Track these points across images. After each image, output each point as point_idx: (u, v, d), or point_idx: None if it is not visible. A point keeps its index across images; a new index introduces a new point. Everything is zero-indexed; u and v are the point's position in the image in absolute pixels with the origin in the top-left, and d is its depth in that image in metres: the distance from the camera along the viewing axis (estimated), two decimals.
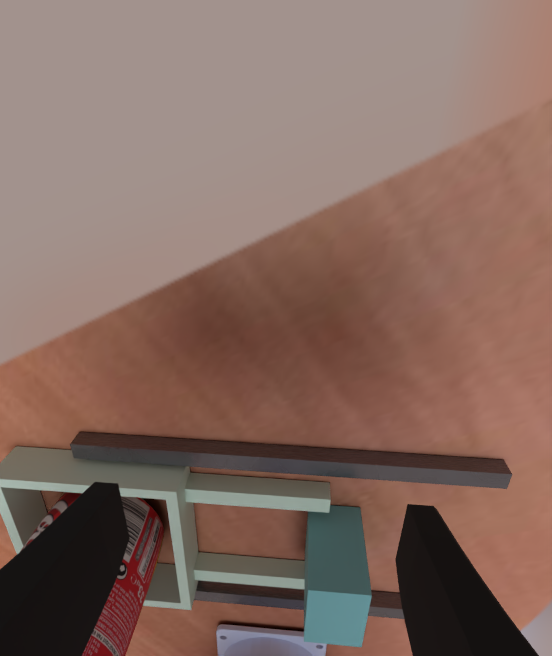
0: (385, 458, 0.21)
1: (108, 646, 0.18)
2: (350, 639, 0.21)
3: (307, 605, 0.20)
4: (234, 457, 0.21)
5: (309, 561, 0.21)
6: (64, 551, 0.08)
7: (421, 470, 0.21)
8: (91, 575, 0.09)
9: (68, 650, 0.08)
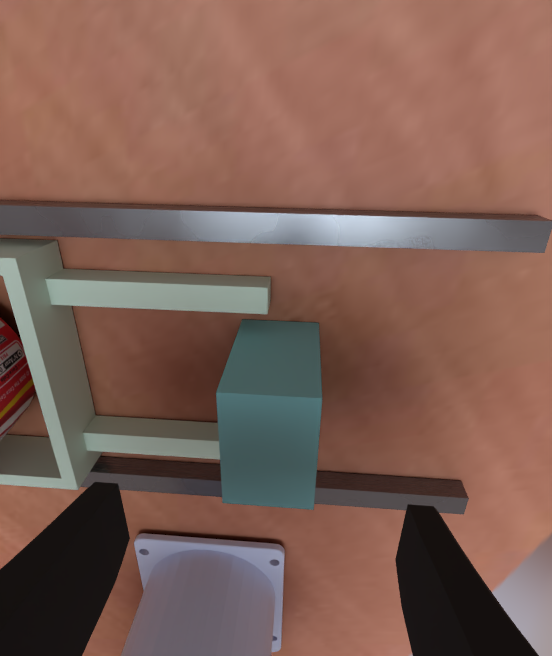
0: (351, 212, 0.14)
1: None
2: (295, 494, 0.13)
3: (219, 428, 0.12)
4: (112, 213, 0.14)
5: (227, 366, 0.13)
6: (64, 551, 0.08)
7: (407, 222, 0.13)
8: (91, 575, 0.09)
9: (68, 650, 0.08)
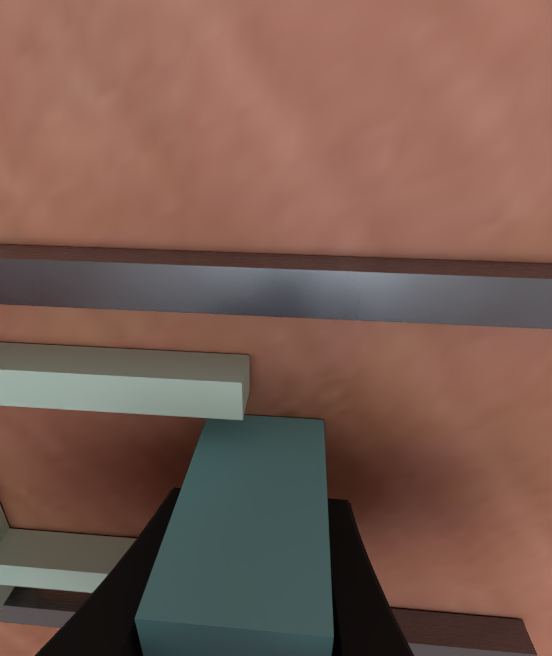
0: (379, 264, 0.08)
1: None
2: None
3: None
4: None
5: (168, 534, 0.07)
6: None
7: (477, 284, 0.08)
8: None
9: None
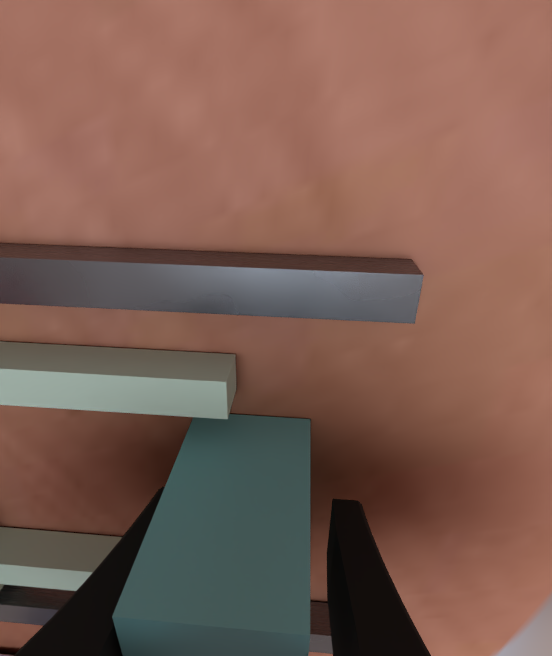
0: (111, 254, 0.08)
1: None
2: None
3: None
4: None
5: (149, 532, 0.07)
6: None
7: (188, 272, 0.08)
8: None
9: None
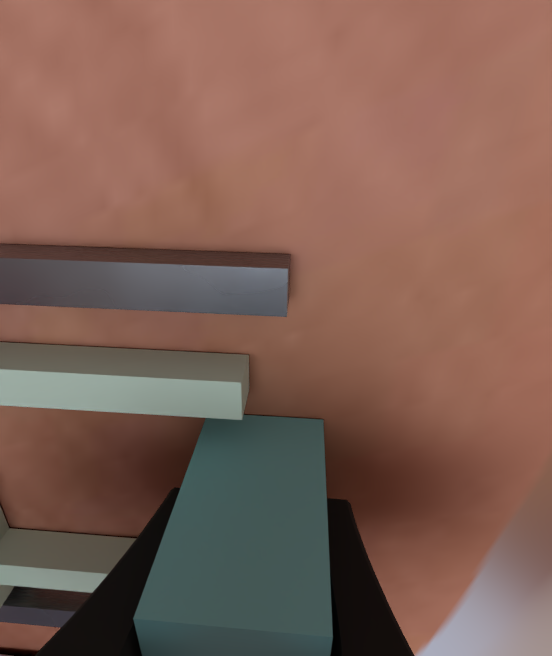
0: None
1: None
2: None
3: None
4: None
5: (167, 534, 0.07)
6: None
7: (63, 267, 0.08)
8: None
9: None
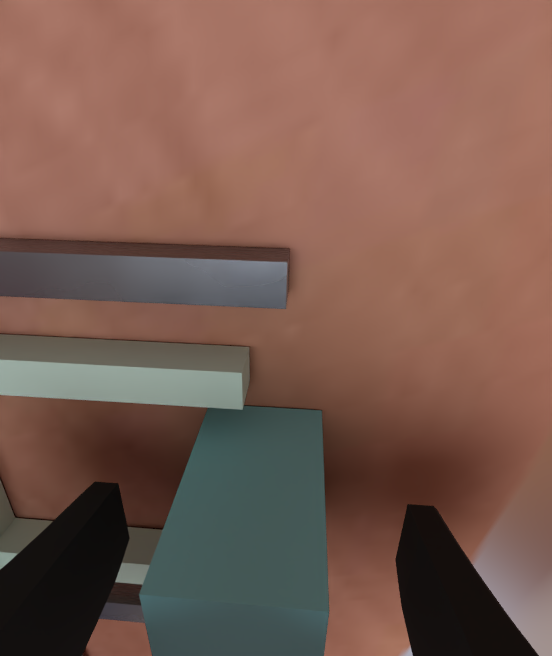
0: (3, 244, 0.09)
1: None
2: None
3: (152, 637, 0.07)
4: None
5: (170, 517, 0.08)
6: (64, 551, 0.08)
7: (70, 261, 0.08)
8: (91, 575, 0.09)
9: (68, 650, 0.08)
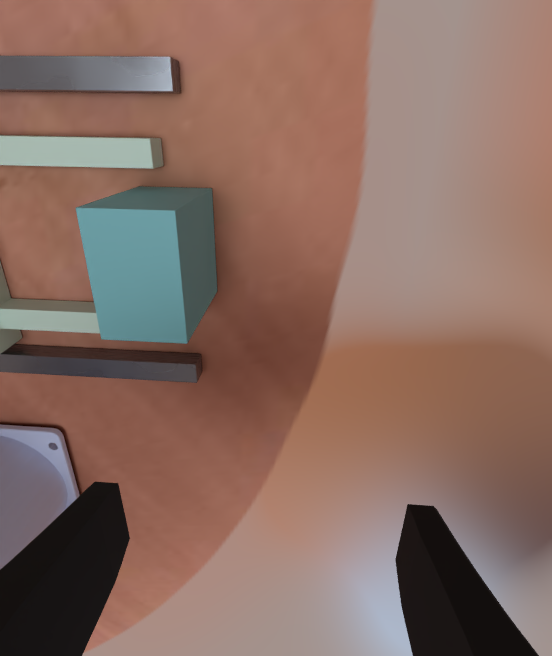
0: None
1: None
2: (167, 326, 0.14)
3: (86, 250, 0.13)
4: None
5: (100, 200, 0.13)
6: (64, 551, 0.08)
7: (43, 61, 0.14)
8: (91, 575, 0.09)
9: (68, 650, 0.08)
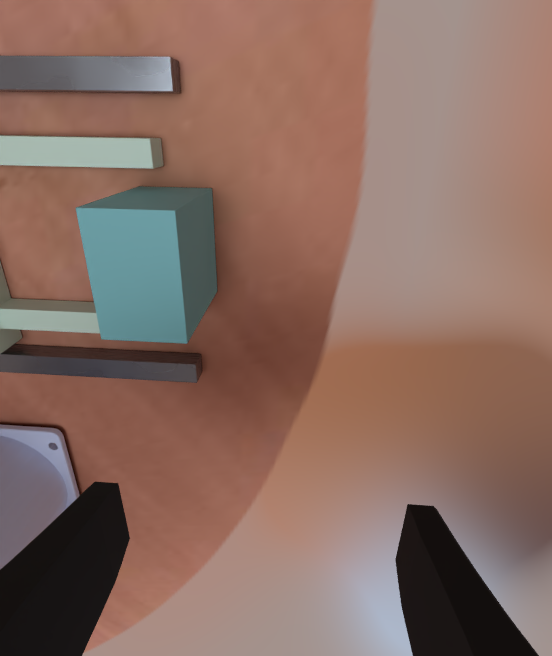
0: None
1: None
2: (167, 326, 0.14)
3: (86, 250, 0.13)
4: None
5: (100, 200, 0.13)
6: (64, 551, 0.08)
7: (43, 61, 0.14)
8: (91, 575, 0.09)
9: (68, 650, 0.08)
